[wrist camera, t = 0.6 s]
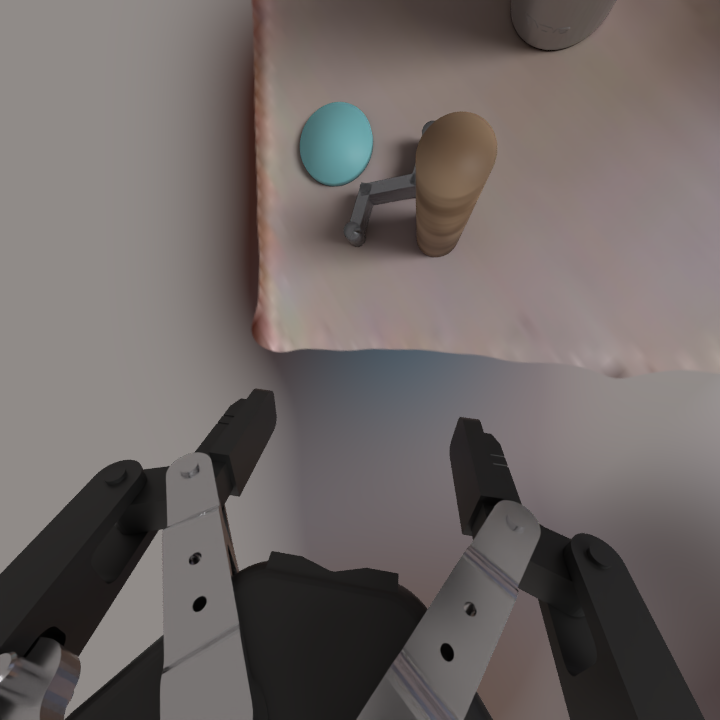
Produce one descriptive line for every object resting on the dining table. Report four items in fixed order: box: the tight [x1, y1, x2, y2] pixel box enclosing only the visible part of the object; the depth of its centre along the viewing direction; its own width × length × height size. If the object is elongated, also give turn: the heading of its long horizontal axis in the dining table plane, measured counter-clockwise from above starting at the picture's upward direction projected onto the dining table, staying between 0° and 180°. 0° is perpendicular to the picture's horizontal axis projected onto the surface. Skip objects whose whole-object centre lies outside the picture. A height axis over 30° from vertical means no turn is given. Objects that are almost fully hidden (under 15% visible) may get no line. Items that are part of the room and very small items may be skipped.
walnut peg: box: [416, 112, 497, 257], centre depth 25 cm, size 5×5×16 cm
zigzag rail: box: [344, 121, 435, 247], centre depth 32 cm, size 14×5×3 cm, turn 138°
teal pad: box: [300, 102, 373, 186], centre depth 33 cm, size 8×8×1 cm
